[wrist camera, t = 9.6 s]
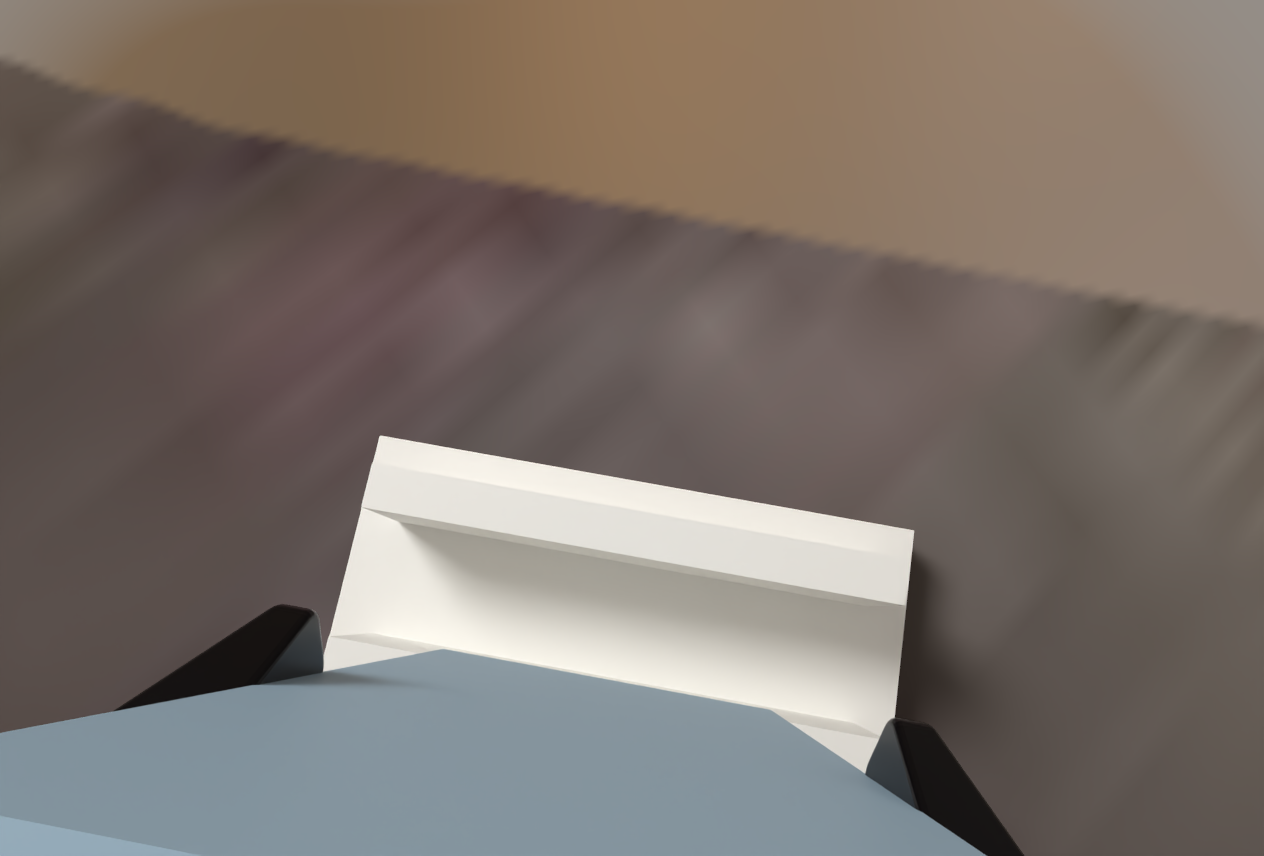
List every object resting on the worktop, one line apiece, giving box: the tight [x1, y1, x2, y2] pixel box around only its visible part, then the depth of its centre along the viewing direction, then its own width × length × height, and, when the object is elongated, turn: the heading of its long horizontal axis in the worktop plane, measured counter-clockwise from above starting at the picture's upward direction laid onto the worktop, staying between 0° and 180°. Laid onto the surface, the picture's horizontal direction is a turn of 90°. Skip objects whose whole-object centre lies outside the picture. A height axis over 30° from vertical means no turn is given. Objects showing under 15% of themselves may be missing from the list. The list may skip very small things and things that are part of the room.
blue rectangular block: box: [0, 649, 986, 856], centre depth 9 cm, size 2×6×12 cm, turn 80°
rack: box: [323, 436, 914, 773], centre depth 19 cm, size 16×14×4 cm
